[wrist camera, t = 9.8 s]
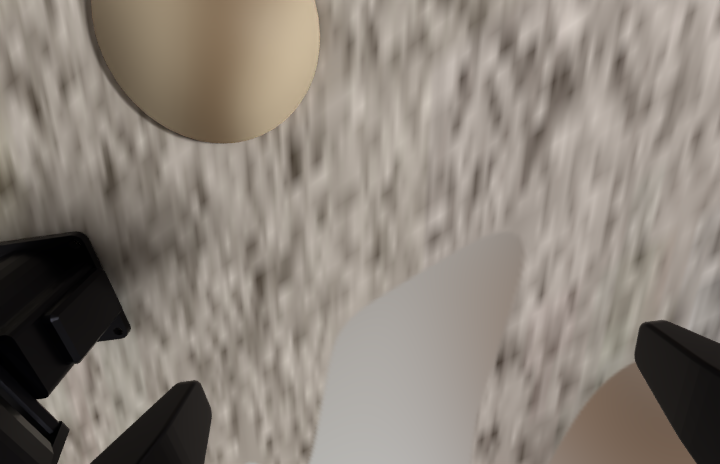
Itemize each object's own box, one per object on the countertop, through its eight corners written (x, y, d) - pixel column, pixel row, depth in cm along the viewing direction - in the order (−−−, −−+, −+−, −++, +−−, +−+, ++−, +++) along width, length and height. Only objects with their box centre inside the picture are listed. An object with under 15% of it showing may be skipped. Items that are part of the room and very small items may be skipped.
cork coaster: (145, 153, 20) (140, 156, 19) (57, -81, 16) (49, -85, 15) (336, 125, 19) (335, 127, 19) (295, -121, 15) (294, -126, 15)
